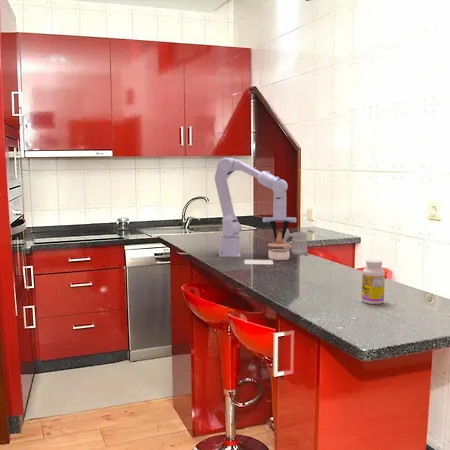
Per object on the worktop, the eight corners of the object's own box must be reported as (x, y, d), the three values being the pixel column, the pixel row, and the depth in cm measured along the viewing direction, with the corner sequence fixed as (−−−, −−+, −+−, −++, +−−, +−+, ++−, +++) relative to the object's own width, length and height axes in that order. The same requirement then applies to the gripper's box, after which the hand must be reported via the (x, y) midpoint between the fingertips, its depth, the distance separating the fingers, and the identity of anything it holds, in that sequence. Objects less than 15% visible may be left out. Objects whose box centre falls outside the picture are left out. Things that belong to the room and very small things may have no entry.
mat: (244, 264, 228) (244, 263, 228) (244, 260, 238) (244, 259, 238) (273, 265, 227) (273, 264, 227) (272, 260, 237) (272, 259, 237)
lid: (267, 246, 237) (267, 232, 237) (268, 245, 246) (268, 231, 246) (290, 247, 236) (290, 232, 235) (290, 245, 245) (290, 232, 245)
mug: (309, 255, 251) (310, 229, 249) (284, 256, 249) (284, 229, 248) (305, 252, 258) (305, 227, 257) (280, 253, 257) (280, 227, 256)
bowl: (268, 260, 238) (269, 252, 238) (268, 256, 247) (268, 249, 246) (289, 260, 238) (290, 252, 237) (288, 257, 246) (288, 249, 246)
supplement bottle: (358, 299, 172) (359, 258, 171) (379, 299, 173) (380, 258, 171) (365, 304, 166) (367, 262, 164) (387, 304, 166) (388, 262, 165)
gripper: (263, 208, 236) (262, 239, 237) (297, 208, 235) (296, 240, 237) (262, 206, 243) (262, 237, 244) (295, 207, 242) (295, 237, 244)
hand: (279, 238), depth 241 cm, fingers closed on lid, 3 cm apart
